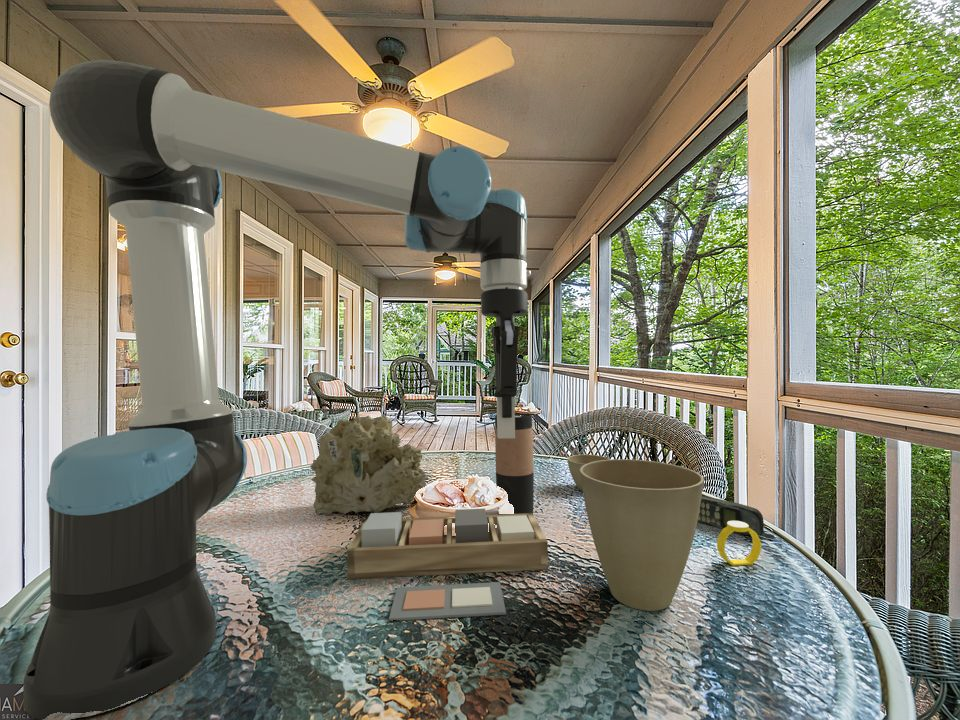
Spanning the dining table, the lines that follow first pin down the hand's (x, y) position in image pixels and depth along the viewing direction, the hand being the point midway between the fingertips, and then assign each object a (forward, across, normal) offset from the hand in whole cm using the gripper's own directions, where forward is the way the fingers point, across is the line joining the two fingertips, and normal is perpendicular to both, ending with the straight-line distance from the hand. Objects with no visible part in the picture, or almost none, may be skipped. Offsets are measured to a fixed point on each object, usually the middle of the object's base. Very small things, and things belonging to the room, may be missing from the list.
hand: (506, 437), depth 67 cm
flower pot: (+19, +32, -24) cm, 44 cm away
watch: (+18, -7, -34) cm, 39 cm away
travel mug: (+19, +17, -4) cm, 26 cm away
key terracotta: (+17, 0, +13) cm, 21 cm away
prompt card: (+19, -13, +9) cm, 24 cm away
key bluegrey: (+16, 0, +20) cm, 25 cm away
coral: (+19, +23, +26) cm, 40 cm away
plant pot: (+19, -14, -16) cm, 28 cm away
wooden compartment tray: (+19, 0, +9) cm, 21 cm away
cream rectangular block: (+17, 0, -1) cm, 17 cm away
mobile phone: (+19, +6, -40) cm, 45 cm away
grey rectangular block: (+16, 0, +6) cm, 17 cm away
